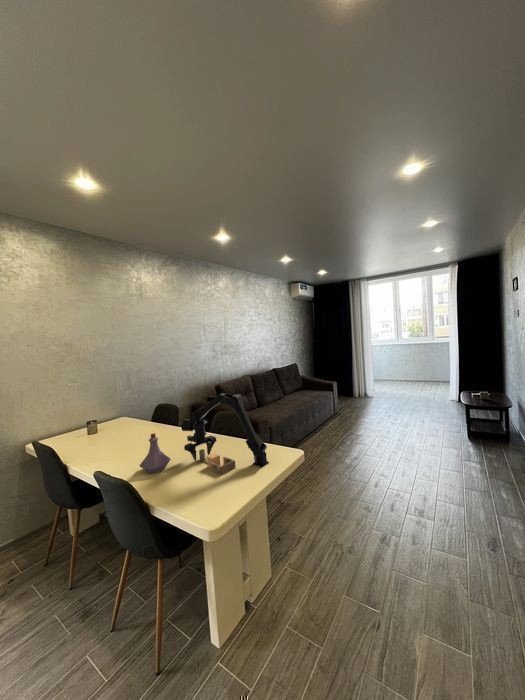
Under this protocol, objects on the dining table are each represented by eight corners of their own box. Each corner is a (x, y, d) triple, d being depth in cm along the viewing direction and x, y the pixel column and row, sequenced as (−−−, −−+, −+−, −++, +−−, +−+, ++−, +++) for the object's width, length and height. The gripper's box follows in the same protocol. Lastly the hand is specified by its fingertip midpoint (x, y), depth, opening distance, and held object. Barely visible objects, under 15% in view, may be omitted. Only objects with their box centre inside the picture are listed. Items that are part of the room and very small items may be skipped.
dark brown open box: (235, 467, 142) (235, 460, 142) (221, 475, 135) (221, 467, 135) (225, 463, 148) (224, 456, 148) (210, 470, 141) (210, 463, 141)
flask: (140, 467, 152) (137, 432, 151) (171, 460, 158) (168, 427, 157) (138, 480, 136) (135, 441, 136) (172, 472, 142) (169, 435, 142)
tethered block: (220, 466, 146) (219, 455, 146) (212, 469, 142) (211, 458, 142) (204, 458, 157) (204, 448, 157) (197, 461, 154) (196, 451, 154)
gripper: (205, 424, 167) (207, 449, 167) (178, 433, 153) (180, 460, 154) (216, 427, 159) (218, 453, 160) (188, 437, 146) (190, 465, 146)
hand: (202, 457), depth 155 cm, fingers open, 9 cm apart
